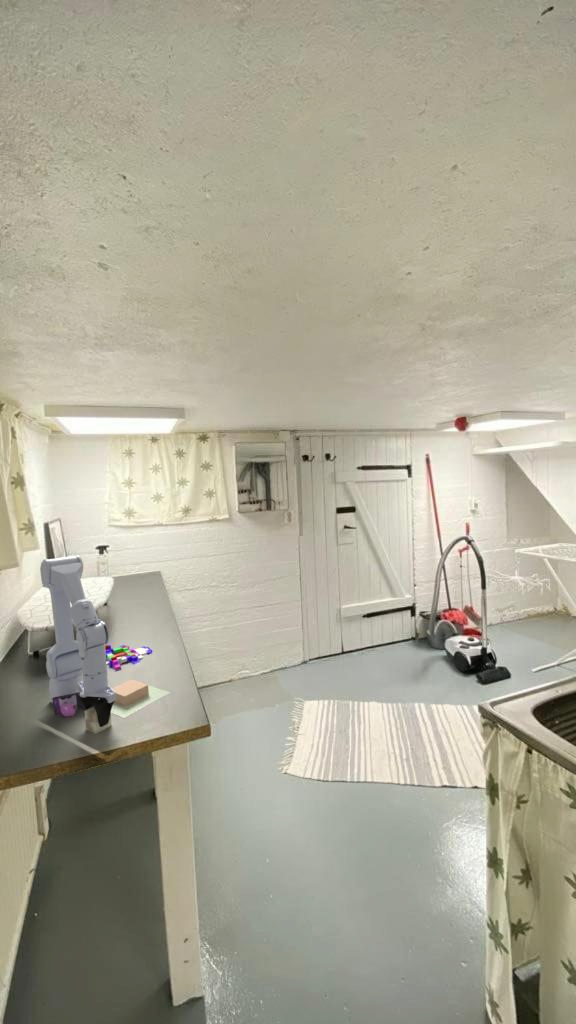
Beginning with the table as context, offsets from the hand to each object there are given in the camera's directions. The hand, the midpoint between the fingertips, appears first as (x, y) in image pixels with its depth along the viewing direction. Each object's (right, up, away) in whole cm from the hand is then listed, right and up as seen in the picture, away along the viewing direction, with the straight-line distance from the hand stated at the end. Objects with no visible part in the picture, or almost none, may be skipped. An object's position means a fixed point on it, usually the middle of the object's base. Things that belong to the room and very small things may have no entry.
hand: (98, 722), depth 108 cm
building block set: (-14, -2, +51) cm, 53 cm away
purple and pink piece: (-11, -3, +8) cm, 14 cm away
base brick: (+2, -1, +16) cm, 16 cm away
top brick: (0, -1, 0) cm, 1 cm away
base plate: (+2, -2, +16) cm, 16 cm away
